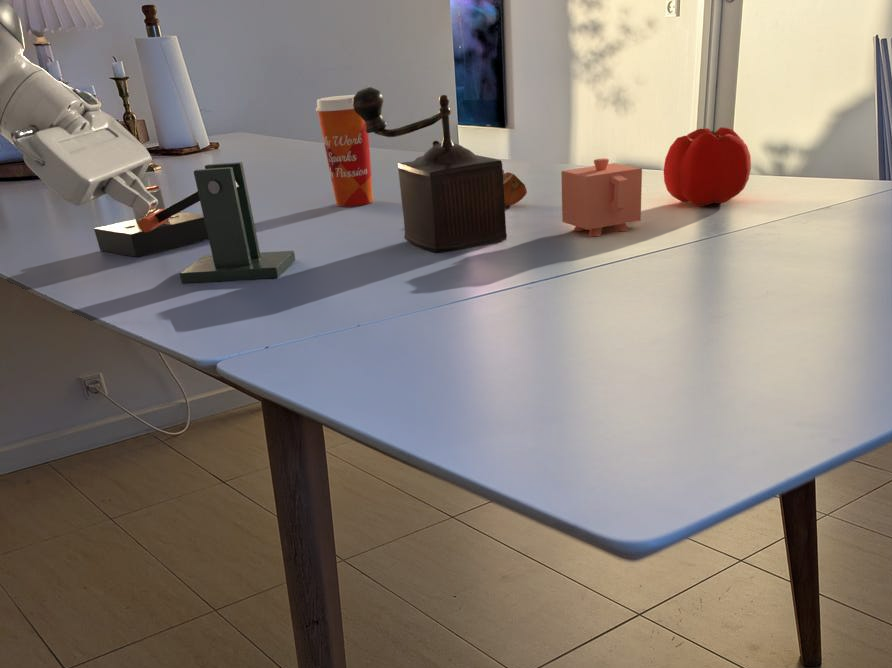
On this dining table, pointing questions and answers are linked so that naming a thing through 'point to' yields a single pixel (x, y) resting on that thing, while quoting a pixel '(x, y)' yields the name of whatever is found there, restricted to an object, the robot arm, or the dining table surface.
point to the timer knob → (158, 195)
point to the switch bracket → (231, 231)
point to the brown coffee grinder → (443, 185)
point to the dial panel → (151, 235)
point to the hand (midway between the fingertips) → (151, 209)
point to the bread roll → (512, 189)
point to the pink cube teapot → (601, 196)
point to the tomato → (707, 166)
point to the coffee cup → (346, 150)
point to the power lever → (168, 212)
